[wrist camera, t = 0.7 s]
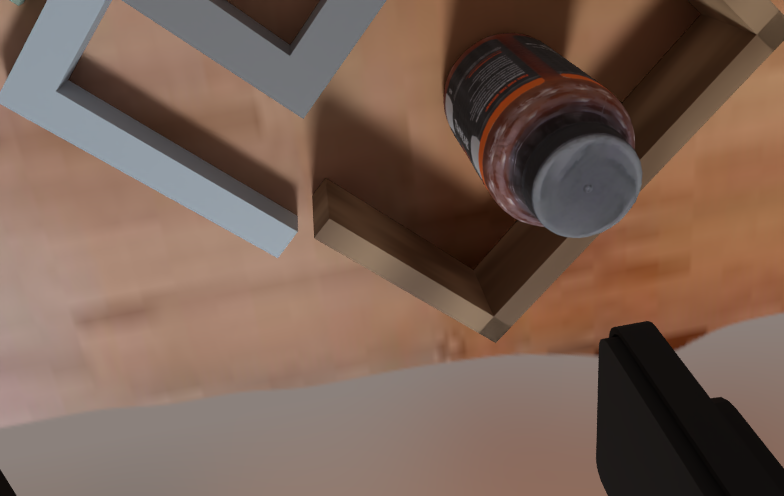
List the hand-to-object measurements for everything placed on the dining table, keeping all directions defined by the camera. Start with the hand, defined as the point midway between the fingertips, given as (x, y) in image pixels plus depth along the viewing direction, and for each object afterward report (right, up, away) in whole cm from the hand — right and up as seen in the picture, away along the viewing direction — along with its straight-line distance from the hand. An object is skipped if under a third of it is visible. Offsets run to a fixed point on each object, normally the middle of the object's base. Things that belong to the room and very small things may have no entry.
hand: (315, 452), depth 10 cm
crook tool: (-8, +9, +21) cm, 25 cm away
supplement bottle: (+6, +11, +23) cm, 26 cm away
